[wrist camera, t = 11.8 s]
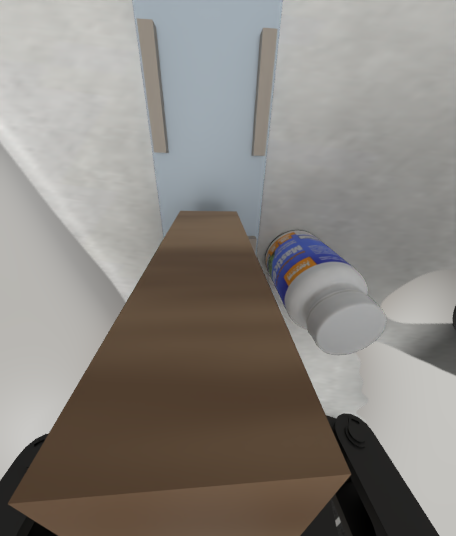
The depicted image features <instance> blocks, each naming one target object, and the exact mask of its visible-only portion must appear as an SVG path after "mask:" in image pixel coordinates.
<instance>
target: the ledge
mask: <svg viewBox="0 0 456 536" xmlns="http://www.w3.org/2000/svg"><path fill="white" fill-rule="evenodd" d="M132 1H133V9H134V17H135V24H136V32H137V39H138V47H139V54H140V62H141V69H142V77H143V85H144V92H145V100H146V107H147V115H148V122H149V130H150V137H151V145H152V152H153V160H154V168H155V175H156V183H157V190H158V198H159V205H160V213H161V220H162V228H163V235H164V237H165V236H166V234H167V232H168V230H169V229H170V227H171V225H172V224H173V222H174V220H175V219H176V217H177V215H178V213H179V212H180V211H237V213H238V216H239V218H240V220H241V223H242V225H243V227H244V229H245V232H246V234H247V236H248V239H249V241H250V243H251V245H252V248H253V250H254V252H255V255H256V254H257V244H258V235H259V225H260V215H261V206H262V196H263V186H264V177H265V167H266V157H267V148H268V138H269V128H270V119H271V109H272V99H273V89H274V80H275V70H276V60H277V51H278V41H279V31H280V22H281V12H282V2H283V0H132Z"/></svg>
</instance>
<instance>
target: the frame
mask: <svg viewBox="0 0 456 536" xmlns="http://www.w3.org/2000/svg"><path fill="white" fill-rule="evenodd" d="M350 475H351V472H350V470H349V468H348V465H347V463H346V461H345V459H344V456H343V454H342V452H341V449H340V447H339V445H338V443H337V440H336V438H335V436H334V433H333V431H332V429H331V426H330V424H329V422H328V420H327V417H326V415H325V413H324V410H323V408H322V406H321V404H320V401H319V399H318V397H317V394H316V392H315V390H314V388H313V385H312V383H311V381H310V378H309V376H308V374H307V371H306V369H305V367H304V365H303V362H302V360H301V358H300V355H299V353H298V351H297V349H296V346H295V344H294V342H293V339H292V337H291V335H290V333H289V330H288V328H287V326H286V323H285V321H284V319H283V316H282V314H281V312H280V310H279V307H278V305H277V303H276V300H275V298H274V296H273V294H272V291H271V289H270V287H269V284H268V282H267V280H266V278H265V275H264V273H263V271H262V268H261V266H260V264H259V261H258V259H257V257H256V255H255V252H254V250H253V248H252V245H251V243H250V241H249V239H248V236H247V234H246V232H245V229H244V227H243V225H242V223H241V220H240V218H239V216H238V213H237V211H180V212H179V213H178V215H177V217H176V219H175V220H174V222H173V224H172V225H171V227H170V229H169V230H168V232H167V234H166V236H165V237H164V239H163V241H162V242H161V244H160V246H159V247H158V249H157V251H156V253H155V254H154V256H153V258H152V259H151V261H150V263H149V264H148V266H147V268H146V270H145V271H144V273H143V275H142V276H141V278H140V280H139V281H138V283H137V285H136V287H135V288H134V290H133V292H132V293H131V295H130V297H129V298H128V300H127V302H126V304H125V305H124V307H123V309H122V310H121V312H120V314H119V316H118V317H117V319H116V320H115V322H114V324H113V326H112V327H111V329H110V331H109V332H108V334H107V336H106V337H105V339H104V341H103V343H102V344H101V346H100V348H99V349H98V351H97V353H96V355H95V356H94V358H93V360H92V361H91V363H90V365H89V367H88V368H87V370H86V371H85V373H84V375H83V377H82V378H81V380H80V382H79V383H78V385H77V387H76V388H75V390H74V392H73V394H72V395H71V397H70V399H69V401H68V402H67V404H66V406H65V407H64V409H63V411H62V412H61V414H60V416H59V417H58V419H57V421H56V422H55V424H54V426H53V428H52V429H51V431H50V433H49V434H48V436H47V438H46V439H45V441H44V443H43V444H42V446H41V448H40V450H39V451H38V453H37V455H36V456H35V458H34V460H33V461H32V463H31V465H30V467H29V468H28V470H27V472H26V473H25V475H24V477H23V478H22V480H21V482H20V484H19V485H18V487H17V489H16V490H15V492H14V494H13V495H12V497H11V499H10V501H9V502H8V505H10V506H12V507H13V508H15V509H16V510H18V511H20V512H21V513H23V514H24V515H26V516H28V517H29V518H31V519H32V520H34V521H35V522H37V523H39V524H40V525H42V526H43V527H45V528H47V529H48V530H50V531H51V532H53V533H55V534H56V535H58V536H300V535H301V534H302V533H303V532H304V531H305V529H306V528H307V527H308V526H309V525H310V523H311V522H312V521H313V520H314V519H315V517H316V516H317V515H318V514H319V513H320V511H321V510H322V509H323V508H324V507H325V505H326V504H327V503H328V502H329V501H330V499H331V498H332V497H333V496H334V495H335V493H336V492H337V491H338V490H339V489H340V487H341V486H342V485H343V484H344V483H345V481H346V480H347V479H348V478H349V477H350Z"/></svg>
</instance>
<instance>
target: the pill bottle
mask: <svg viewBox="0 0 456 536" xmlns="http://www.w3.org/2000/svg"><path fill="white" fill-rule="evenodd" d="M265 260H266V267H267V270H268V272H269V274H270V276H271V278H272V280H273V282H274V285H275V287H276V289H277V291H278V293H279V295H280V297H281V299H282V302H283V304H284V306H285V308H286V310H287V312H288V314H289V316H290V318H291V319H292V320H293V321H294V322H295V323H296V324H297V325H299V326H300V327H302V328H304V329H307V330H308V332H309V334H310V335H311V336H312V338H313V339H314V341H315V343H316V344H317V346H318V347H319V348H320V349H321V350H322V351H324V352H326V353H328V354H332V355H346V354H351V353H354V352H357V351H359V350H362V349H364V348H365V347H367V346H369V345H370V344H372V343H373V342H374V341H376V340H377V339H378V338H379V337H380V335H381V334H382V333H383V331H384V329H385V327H386V322H387V318H386V315H385V313H384V311H383V310H382V309H381V308H380V307H379V306H378V305H377V304H376V303H375V302H374V301H373V300H372V298H371V297H369V296H368V288H367V284H366V281H365V279H364V278H363V276H362V275H361V274H360V273H359V272H358V271H357V270H356V269H355V268H354V267H352V266H351V265H350V264H349V263H347V262H346V261H345V260H344V259H342V258H341V257H340V256H339V255H337V254H336V253H335V252H334V251H333V250H331V249H330V248H329V247H328V246H326V245H325V244H324V243H323V242H321V241H320V240H319V239H318V238H316V237H315V236H314V235H312V234H310V233H308V232H305V231H298V230H296V231H290V232H287V233H284V234H282V235H281V236H279V237H278V238H277V239H275V240H274V241H273V243H272V244H271V245H270V247H269V248H268V250H267V253H266V259H265Z"/></svg>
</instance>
